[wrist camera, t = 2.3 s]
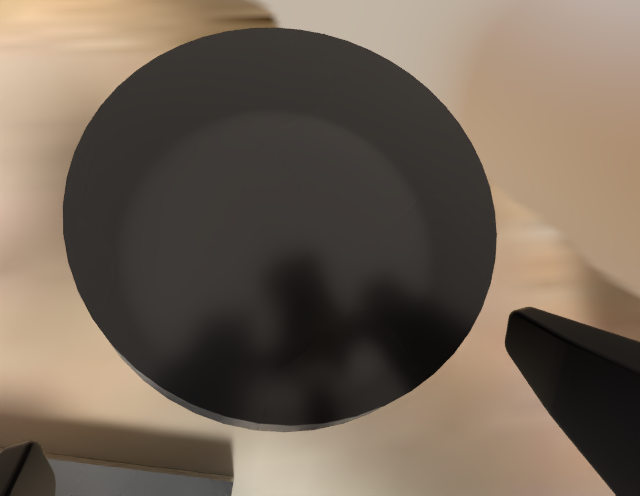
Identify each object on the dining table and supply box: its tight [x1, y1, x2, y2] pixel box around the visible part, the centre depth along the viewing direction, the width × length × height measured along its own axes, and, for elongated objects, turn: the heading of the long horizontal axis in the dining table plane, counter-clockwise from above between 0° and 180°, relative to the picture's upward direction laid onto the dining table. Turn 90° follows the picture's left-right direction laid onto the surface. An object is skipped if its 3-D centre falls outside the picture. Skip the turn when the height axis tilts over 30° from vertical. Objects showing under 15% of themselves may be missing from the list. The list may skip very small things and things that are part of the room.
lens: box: [63, 28, 497, 432], centre depth 12 cm, size 6×6×13 cm
